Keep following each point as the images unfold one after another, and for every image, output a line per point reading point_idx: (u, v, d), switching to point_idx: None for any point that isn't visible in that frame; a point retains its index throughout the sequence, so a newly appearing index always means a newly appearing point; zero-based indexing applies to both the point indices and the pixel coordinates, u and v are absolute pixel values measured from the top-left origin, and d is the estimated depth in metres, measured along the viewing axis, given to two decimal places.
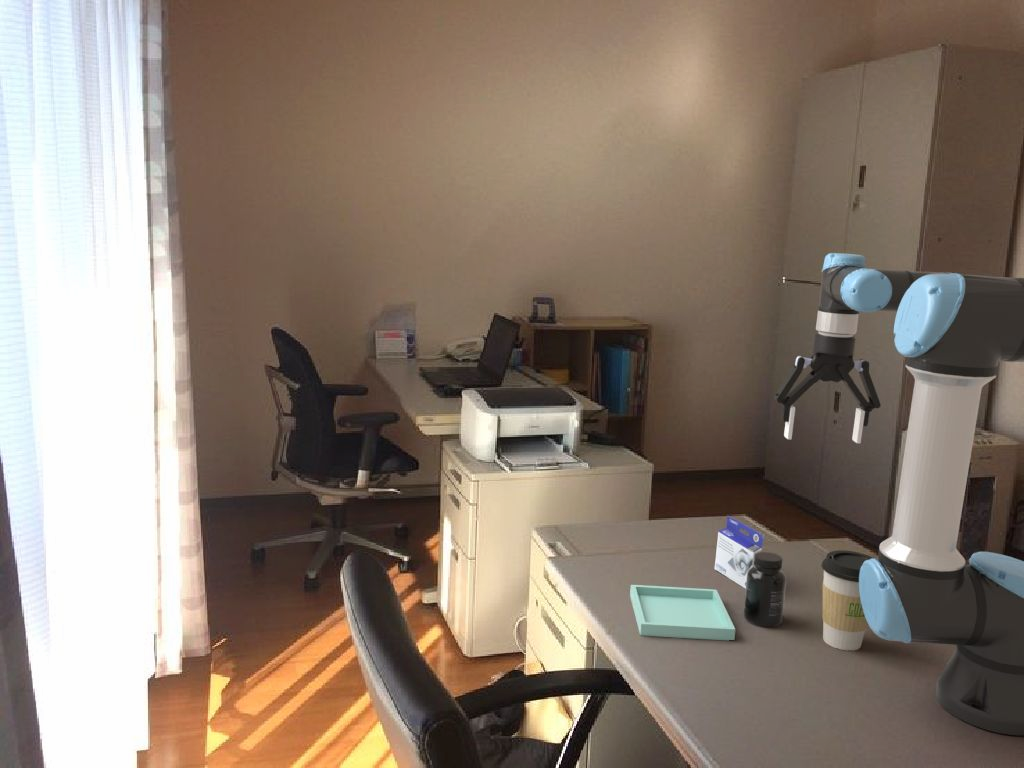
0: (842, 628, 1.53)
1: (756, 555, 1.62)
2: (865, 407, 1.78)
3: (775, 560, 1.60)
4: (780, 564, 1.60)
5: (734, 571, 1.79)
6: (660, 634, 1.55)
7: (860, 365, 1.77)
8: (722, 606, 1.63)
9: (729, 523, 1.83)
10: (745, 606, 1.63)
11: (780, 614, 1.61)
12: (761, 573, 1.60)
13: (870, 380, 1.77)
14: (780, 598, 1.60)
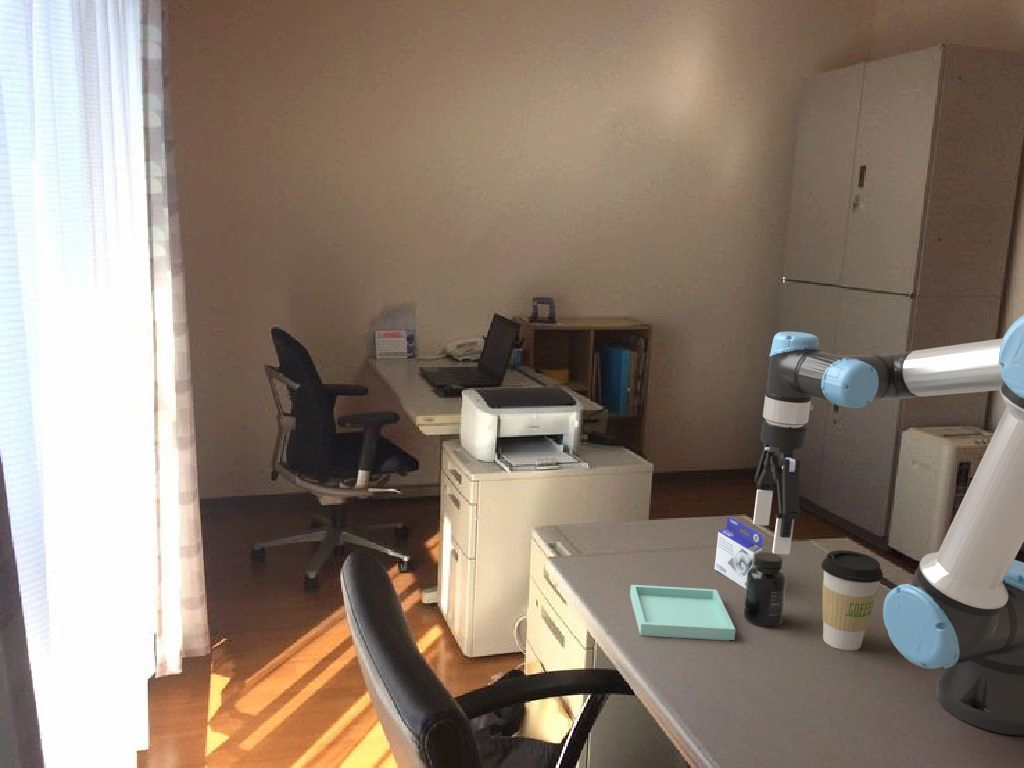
0: (842, 628, 1.53)
1: (756, 555, 1.62)
2: (779, 513, 1.52)
3: (775, 560, 1.60)
4: (780, 564, 1.60)
5: (734, 571, 1.79)
6: (660, 634, 1.55)
7: None
8: (722, 606, 1.63)
9: (729, 523, 1.83)
10: (745, 606, 1.63)
11: (780, 614, 1.61)
12: (761, 573, 1.60)
13: (784, 482, 1.51)
14: (780, 598, 1.60)
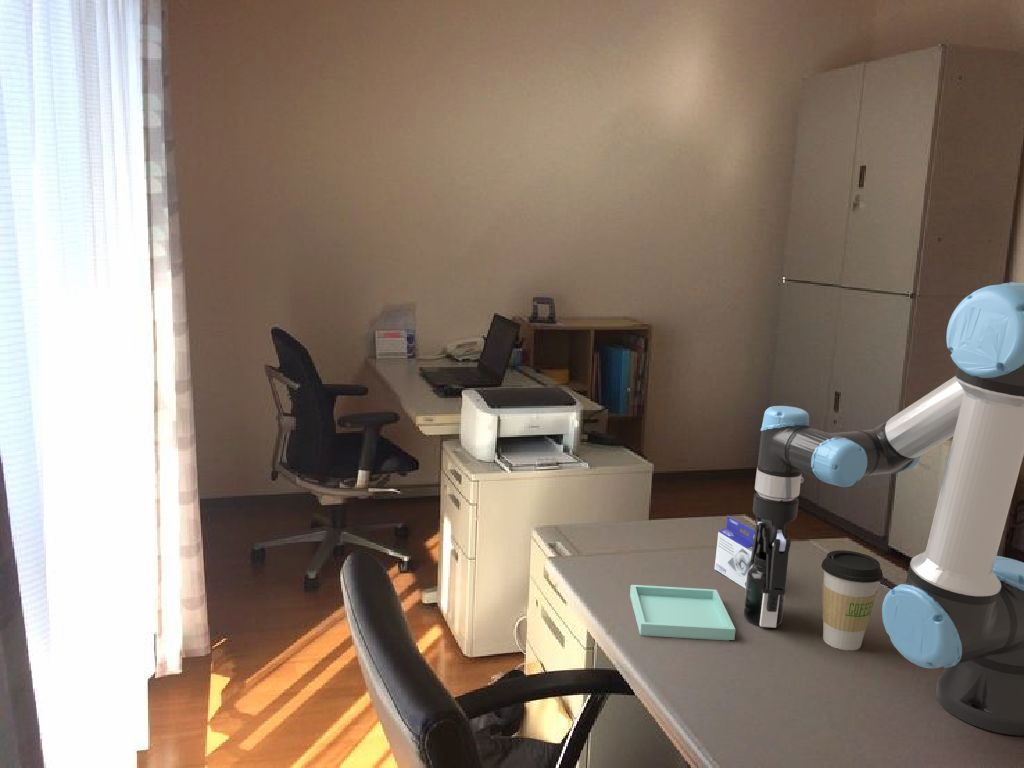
0: (842, 628, 1.53)
1: (756, 555, 1.62)
2: (766, 587, 1.58)
3: None
4: None
5: (734, 571, 1.79)
6: (660, 634, 1.55)
7: None
8: (722, 606, 1.63)
9: (729, 523, 1.83)
10: (745, 606, 1.63)
11: (780, 614, 1.61)
12: (761, 573, 1.60)
13: (773, 561, 1.55)
14: (780, 598, 1.60)
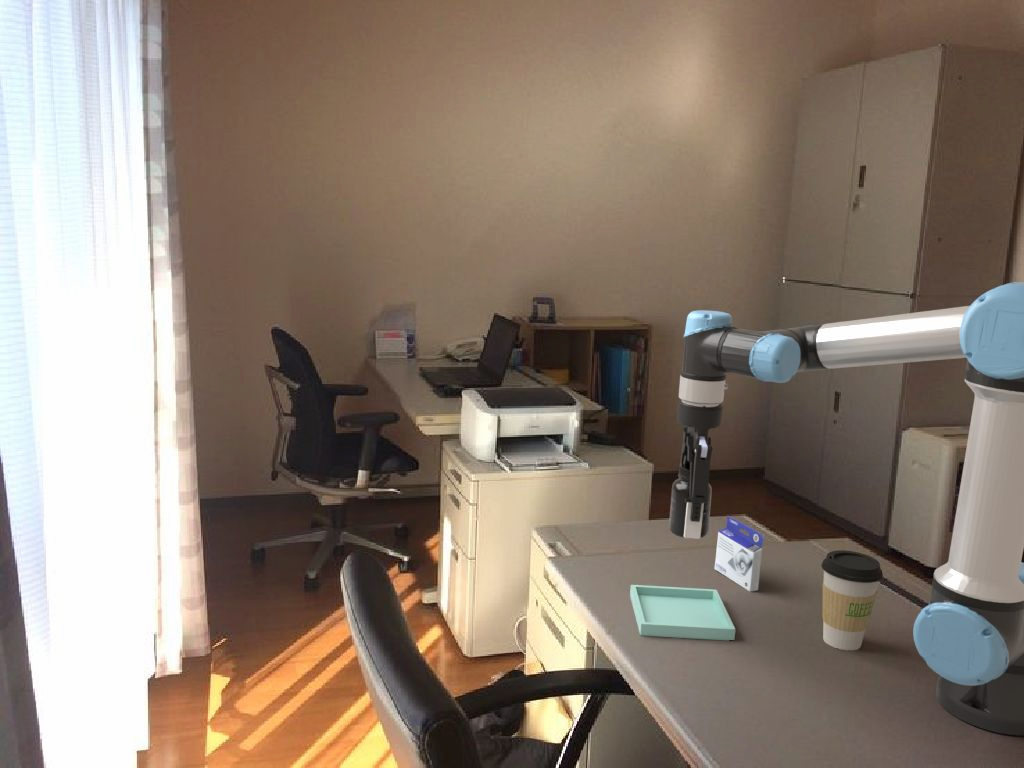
0: (842, 628, 1.53)
1: (681, 465, 1.58)
2: (689, 496, 1.54)
3: None
4: None
5: (734, 571, 1.79)
6: (660, 634, 1.55)
7: None
8: (722, 606, 1.63)
9: (729, 523, 1.83)
10: (670, 518, 1.59)
11: (705, 526, 1.57)
12: (685, 483, 1.56)
13: (694, 468, 1.51)
14: (705, 509, 1.56)
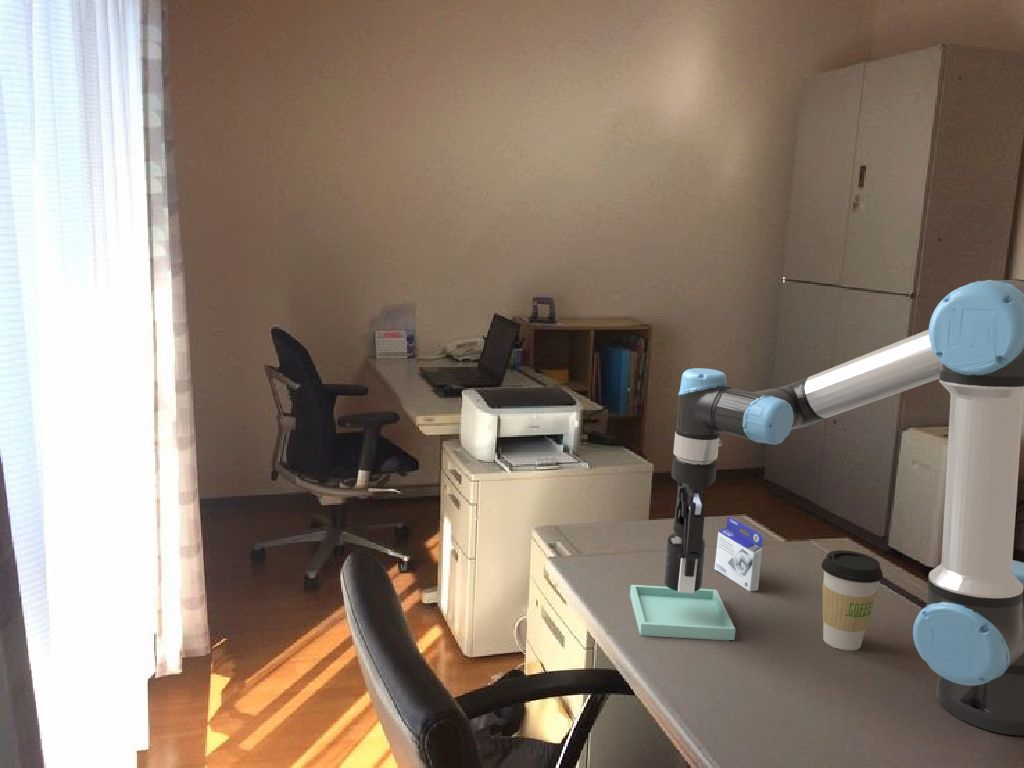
0: (842, 628, 1.53)
1: (675, 520, 1.60)
2: (683, 552, 1.56)
3: None
4: None
5: (734, 571, 1.79)
6: (660, 634, 1.55)
7: None
8: (722, 606, 1.63)
9: (729, 523, 1.83)
10: (664, 572, 1.61)
11: (699, 580, 1.59)
12: (680, 538, 1.58)
13: (689, 525, 1.53)
14: (699, 563, 1.58)
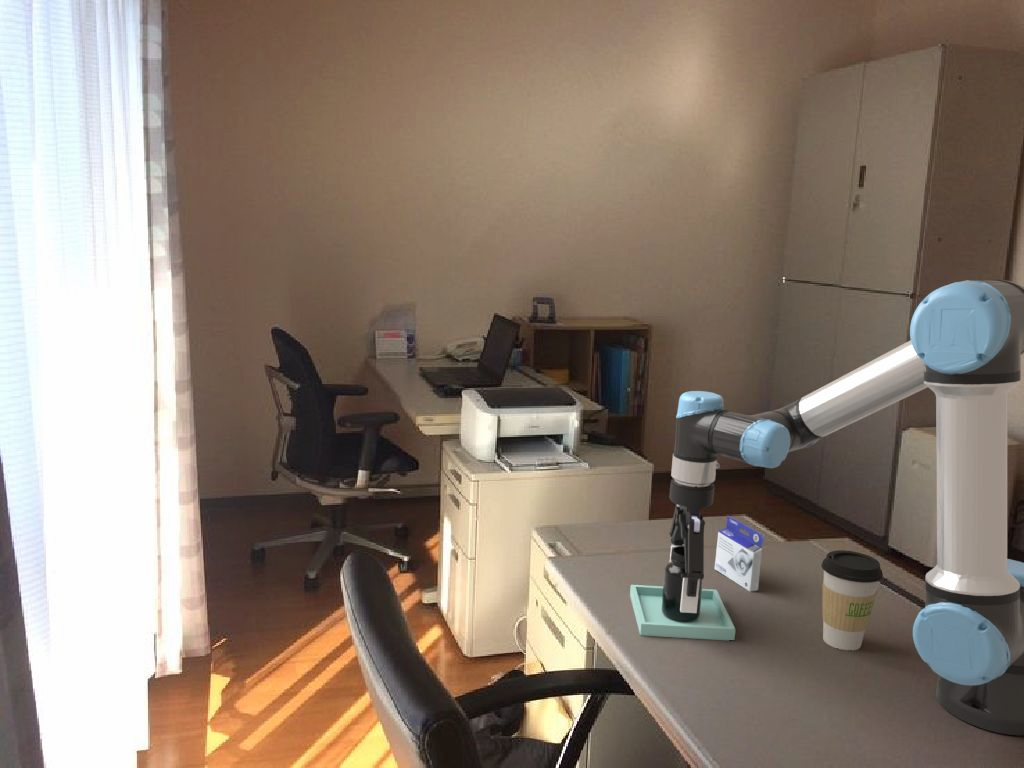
0: (842, 628, 1.53)
1: (673, 549, 1.61)
2: (685, 572, 1.53)
3: None
4: None
5: (734, 571, 1.79)
6: (660, 634, 1.55)
7: None
8: (722, 606, 1.63)
9: (729, 523, 1.83)
10: (662, 601, 1.62)
11: (697, 609, 1.60)
12: (677, 568, 1.59)
13: (689, 542, 1.52)
14: None
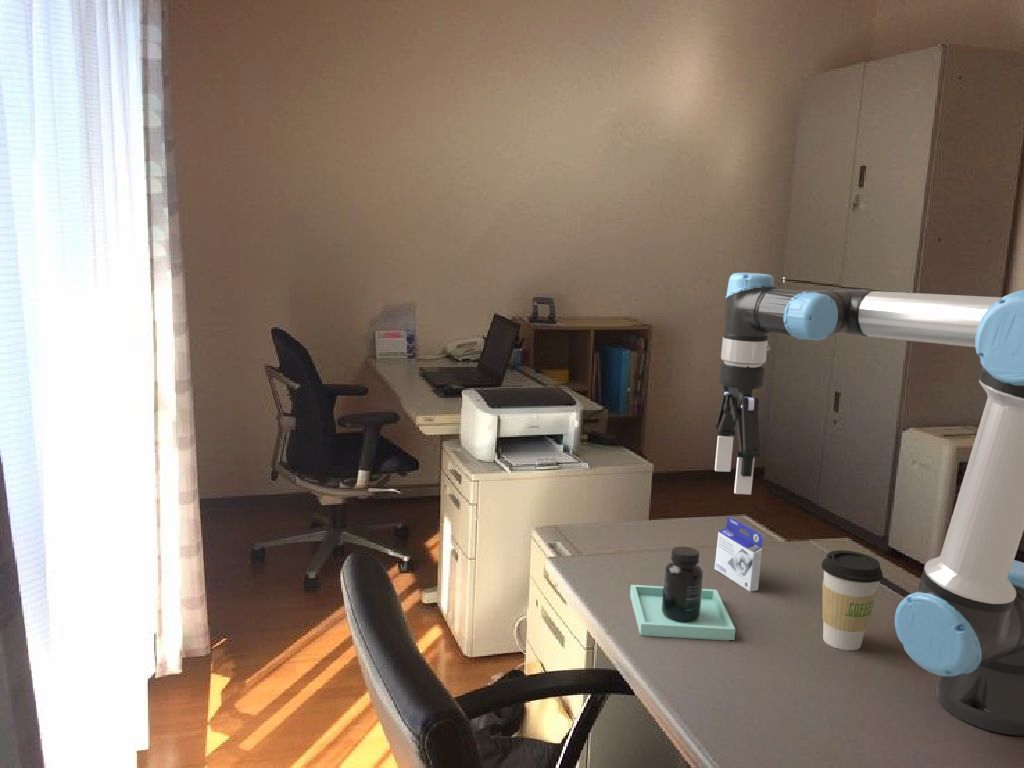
0: (842, 628, 1.53)
1: (673, 549, 1.61)
2: (740, 452, 1.52)
3: (691, 554, 1.59)
4: (696, 558, 1.59)
5: (734, 571, 1.79)
6: (660, 634, 1.55)
7: None
8: (722, 606, 1.63)
9: (729, 523, 1.83)
10: (663, 601, 1.62)
11: (697, 609, 1.60)
12: (677, 568, 1.59)
13: (743, 421, 1.51)
14: (696, 593, 1.59)
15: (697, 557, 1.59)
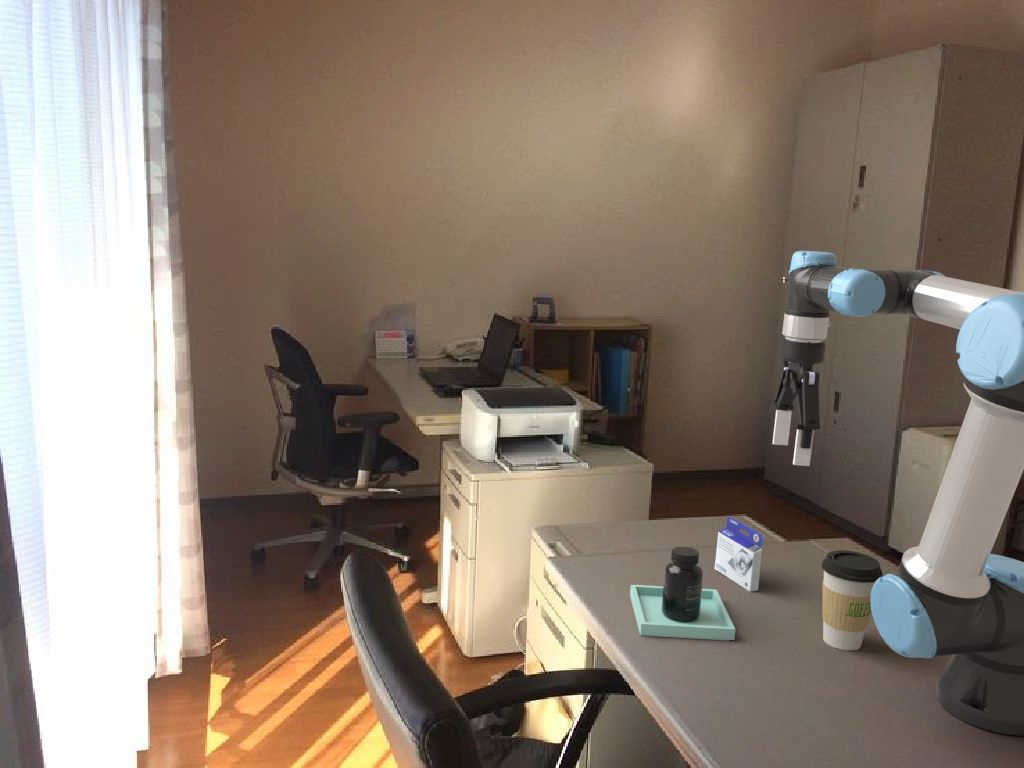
0: (842, 628, 1.53)
1: (673, 550, 1.61)
2: None
3: (691, 554, 1.59)
4: (696, 559, 1.59)
5: (734, 571, 1.79)
6: (660, 634, 1.55)
7: None
8: (722, 606, 1.63)
9: (729, 523, 1.83)
10: (662, 601, 1.62)
11: (697, 609, 1.60)
12: (677, 568, 1.59)
13: (804, 394, 1.56)
14: (696, 593, 1.59)
15: (697, 557, 1.59)
